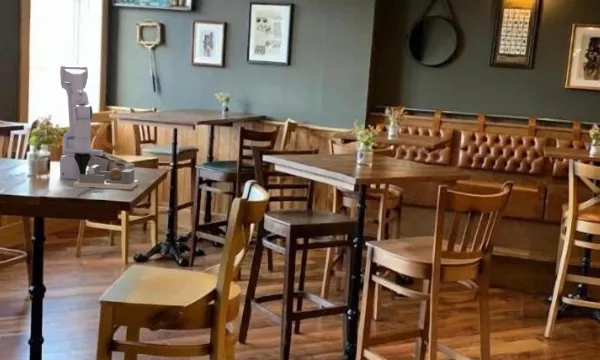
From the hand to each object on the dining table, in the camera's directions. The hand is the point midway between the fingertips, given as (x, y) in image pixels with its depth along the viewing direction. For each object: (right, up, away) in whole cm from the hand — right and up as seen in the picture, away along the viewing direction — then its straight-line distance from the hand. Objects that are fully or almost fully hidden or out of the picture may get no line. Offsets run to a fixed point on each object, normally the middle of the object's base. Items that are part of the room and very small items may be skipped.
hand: (82, 174), depth 282 cm
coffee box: (+14, +1, +14) cm, 20 cm away
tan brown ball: (+12, 0, 0) cm, 12 cm away
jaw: (+4, -1, 0) cm, 4 cm away
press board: (+9, -4, +1) cm, 10 cm away
